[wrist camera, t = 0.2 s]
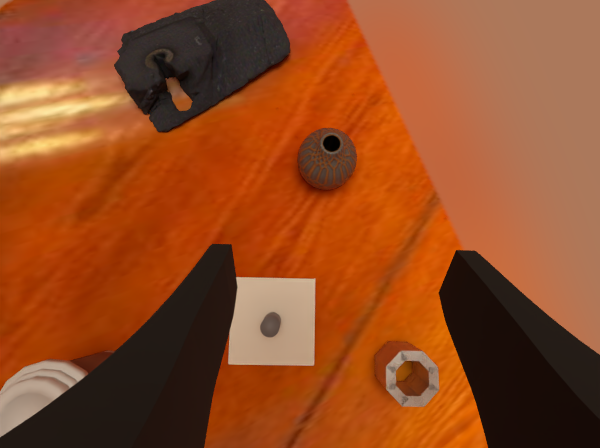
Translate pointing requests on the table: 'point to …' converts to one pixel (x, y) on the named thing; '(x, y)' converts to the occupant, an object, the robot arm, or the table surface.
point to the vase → (327, 158)
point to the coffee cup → (41, 387)
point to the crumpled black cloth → (199, 56)
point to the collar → (418, 383)
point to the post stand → (273, 322)
